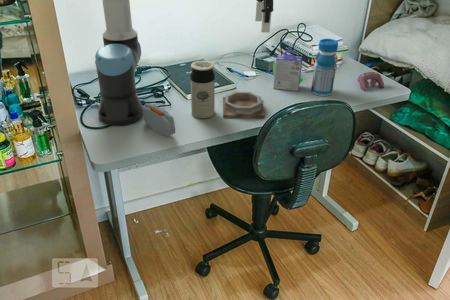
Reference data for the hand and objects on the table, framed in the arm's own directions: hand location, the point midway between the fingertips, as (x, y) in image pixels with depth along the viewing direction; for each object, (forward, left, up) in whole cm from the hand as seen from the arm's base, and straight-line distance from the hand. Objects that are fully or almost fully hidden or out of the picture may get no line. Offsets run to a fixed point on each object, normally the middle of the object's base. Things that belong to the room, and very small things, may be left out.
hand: (261, 26), depth 150 cm
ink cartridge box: (+12, +11, -28) cm, 32 cm away
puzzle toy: (+11, +23, -28) cm, 38 cm away
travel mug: (-20, -11, -28) cm, 36 cm away
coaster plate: (-6, -7, -27) cm, 29 cm away
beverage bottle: (+25, +7, -28) cm, 38 cm away
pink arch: (+45, +12, -28) cm, 54 cm away
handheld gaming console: (-34, -23, -28) cm, 49 cm away
